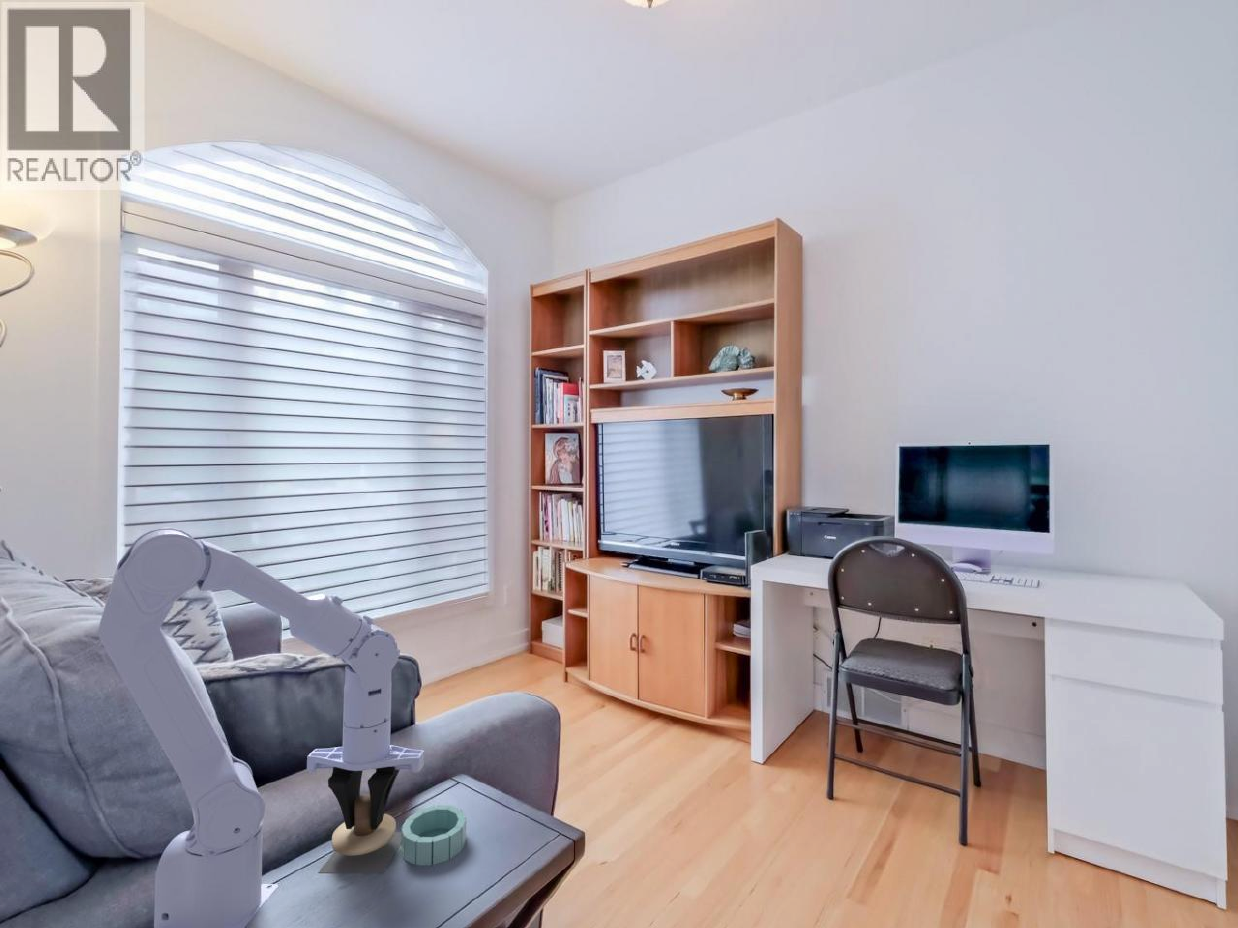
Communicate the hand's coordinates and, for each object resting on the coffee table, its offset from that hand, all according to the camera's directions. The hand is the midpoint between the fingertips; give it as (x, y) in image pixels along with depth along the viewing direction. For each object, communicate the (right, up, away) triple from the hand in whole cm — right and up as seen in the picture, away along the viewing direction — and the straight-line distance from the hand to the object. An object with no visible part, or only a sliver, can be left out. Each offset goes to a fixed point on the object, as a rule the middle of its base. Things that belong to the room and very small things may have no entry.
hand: (364, 824), depth 74 cm
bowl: (+9, -4, +1) cm, 10 cm away
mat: (0, -4, 0) cm, 4 cm away
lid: (0, -2, 0) cm, 2 cm away
